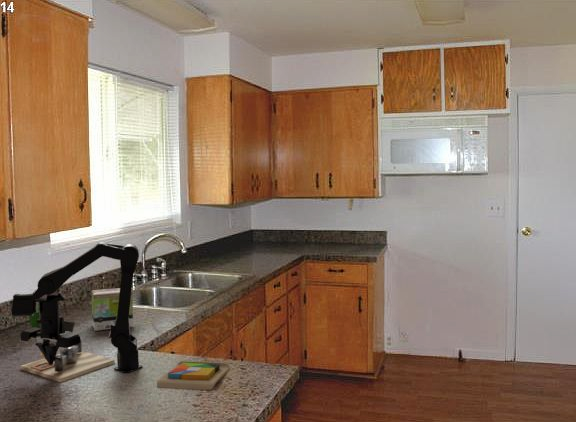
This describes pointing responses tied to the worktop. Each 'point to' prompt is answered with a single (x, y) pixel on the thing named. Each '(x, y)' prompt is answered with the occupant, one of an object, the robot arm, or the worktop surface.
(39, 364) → the level window
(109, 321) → the tea box
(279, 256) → the worktop surface
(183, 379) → the wooden puzzle
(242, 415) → the worktop surface
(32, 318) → the bell pepper
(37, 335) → the robot arm
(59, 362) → the bell crank
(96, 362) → the board
